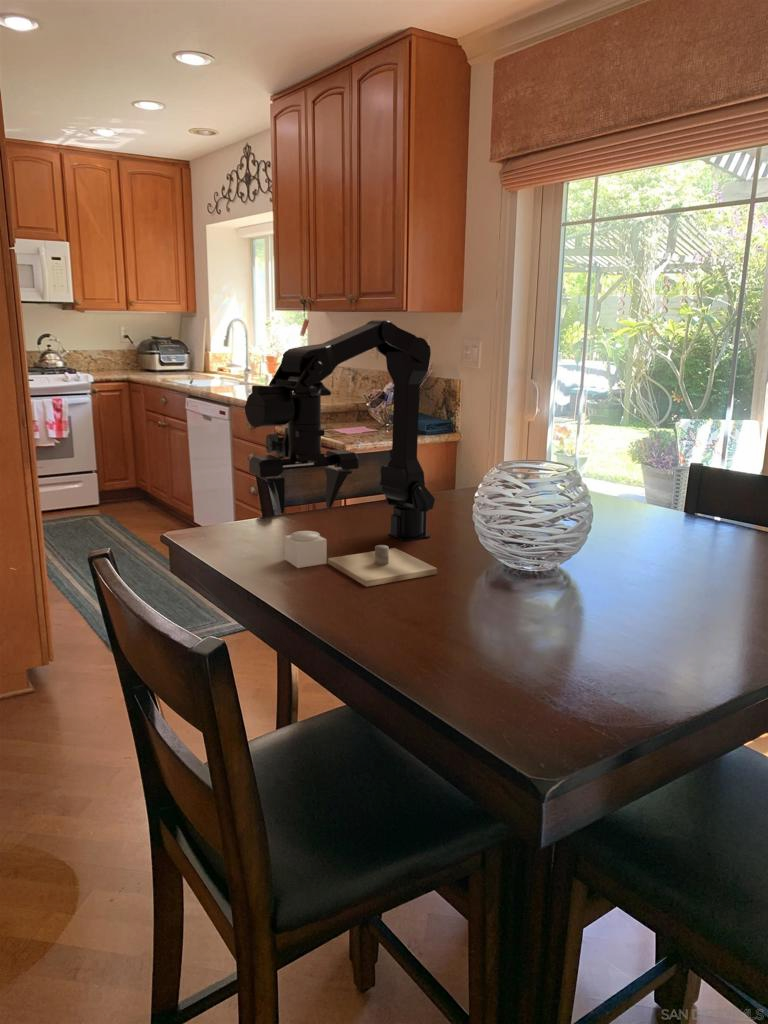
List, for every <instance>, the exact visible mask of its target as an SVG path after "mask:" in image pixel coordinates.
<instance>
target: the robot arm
mask: <svg viewBox="0 0 768 1024" xmlns="http://www.w3.org/2000/svg"><path fill="white" fill-rule="evenodd" d="M374 348H375V349H376V351H377V352H378V353H379V354H381V355H382V356H384V357H385V360H386V369H387V372H388V374H389V376H390V379H391V380H392V383H393V409H392V410H393V412H392V413H393V414H392V415H393V416H392V444H391V445H392V446H391V452H392V453H391V458H390V459H389V461H388V462H387V464H386V465H382V466H381V467H380V483H379V486H380V487H381V490H382V491H381V492H382V494H383V495H384V496H385V501H386V504H387V505H388V506H393V507H392V514H391V515H390V531H388V534H387V535H389V536H391V537H393V538H395V539H397V540H400V541H402V542H411V541H417V540H424V539H430V538H431V535H430V534H428V533H427V512H429V511H431V510H433V508H434V505H435V500H436V498H435V497H434V496H433V495H432V494H431V492H430V491H429V490H428V489H427V487H426V483H425V472H424V470H423V468H422V465H421V464H420V461H419V459H418V442H419V441H418V440H419V439H418V438H419V414H420V413H419V412H420V411H419V409H420V391H421V389H420V387H421V383H422V381H423V380H424V379H425V377H426V375H427V373H428V371H429V367H430V360H431V354H432V353H431V346H430V344H429V343H428V341H427V340H426V339H425V338H423V337H420V336H419V337H418V336H416V334H413V333H411V332H409V331H406V330H405V329H402V328H400V327H398V326H397V325H395V324H394V323H393V322H391V321H390V320H386V319H383V320H382V319H381V320H378V319H377V320H376V319H375V320H369V321H368V322H367V323H365V324H364V325H361V326H359V327H357V328H355V329H352V330H350V331H348V332H346V333H343V334H342V335H339V336H337V337H334V338H332V339H329V340H328V341H324V342H323V343H318V344H311V345H310V344H309V345H303V346H297V347H292V348H289V349H287V350H285V352H284V353H283V354H282V358H281V363H280V365H279V366H278V368H277V369H276V372H275V373H274V375H273V376H272V379H271V380H270V382H269V384H268V385H259V384H258V385H257V384H254V385H252V386H251V392H250V394H249V395H248V397H247V399H246V403H245V404H244V411H245V412H244V414H245V417H246V420H247V421H248V423H249V425H250V426H251V427H254V428H264V427H265V428H266V427H276V426H284V425H285V426H286V425H287V426H286V427H285V428H284V435H283V436H282V437H280V435H279V434H278V433H271V434H267V435H266V436H265V446H266V452H267V453H268V454H267V455H253V456H252V457H251V458H250V460H249V462H248V467H249V468H248V469H249V473H250V474H253V475H255V476H256V477H257V478H260V479H261V480H264V481H265V482H266V485H267V486H268V488H269V490H270V491H271V494H272V497H273V499H274V502H275V504H276V507H277V511H278V513H279V514H281V515H284V514H285V506H286V505H285V504H286V500H285V499H286V498H285V497H286V496H285V493H286V490H285V487H286V486H285V485H286V483H285V482H286V480H285V479H286V478H285V477H284V476H281V474H283V472H284V470H285V471H286V470H295V469H298V470H299V469H308V468H320V467H323V469H324V473H325V476H326V487H325V506H326V508H328V509H332V507H333V505H334V502H335V500H336V497H337V496H338V493H339V491H340V489H341V487H342V486H343V484H344V483H345V480H346V479H347V478H348V477H347V476H349V475H351V474H352V473H353V470H357V469H359V468H360V467H359V462H360V461H359V460H360V459H359V457H358V455H357V453H356V452H354V451H350V450H348V449H346V448H345V449H344V448H343V449H330V450H326V452H325V453H324V452H322V437H324V436H325V429H323V428H322V406H321V405H322V403H321V402H322V399H321V398H322V397H324V396H325V397H327V396H331V395H332V391H331V390H329V388H327V387H326V385H325V384H324V383H323V382H322V381H324V380H325V379H327V377H329V376H330V375H331V374H333V372H334V371H335V369H336V368H337V367H338V366H339V365H340V364H343V363H344V362H346V361H349V360H351V359H353V358H355V357H357V356H359V355H362V354H364V353H366V352H368V351H369V350H372V349H374ZM272 454H276V456H274V455H272Z"/></svg>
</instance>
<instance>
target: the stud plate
mask: <svg viewBox="0 0 768 1024" xmlns="http://www.w3.org/2000/svg"><path fill="white" fill-rule="evenodd" d="M327 564H328V565H330V566H331V567H333V568H335V569H336V570H338V571H340V572H341V573H343V574H345V575H346V576H348V577H349V578H352V579H353V580H354V581H356V582H358V583H360V584H361V585H362V586H364V587H372V586H377V585H384V584H389V583H396V582H399V581H404V580H405V581H406V580H410V579H416V578H422V577H423V578H424V577H427V576H432V575H437V574H438V568H437V567H434V566H433V565H430V564H429V563H427V562H425V561H423V560H421V559H419V558H416V557H415V556H412V555H410V554H408V553H406V552H404V551H402V550H400V549H398V548H395V547H391V548H389V546H388V545H385V544H378V545H375V546H374V550H373V551H372V550H371V551H366V552H361V553H355V554H346V555H342V556H335V557H328V558H327Z"/></svg>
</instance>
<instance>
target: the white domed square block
mask: <svg viewBox="0 0 768 1024" xmlns="http://www.w3.org/2000/svg"><path fill="white" fill-rule="evenodd" d="M327 547H328V546H327V538H325V537H324V536H323V537H322V536H321V535H320V533H319V532H317V531H314V530H298V531H295V532H292V533H291V534H289V535H284V554H285V555H284V559H285V561H286V562H288V563H290V564H291V565H292V566H294V567H296V568H297V569H300V568H306V567H313V566H319V565H326V564H328V558H327V557H328V556H327V553H328V552H327Z"/></svg>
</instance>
